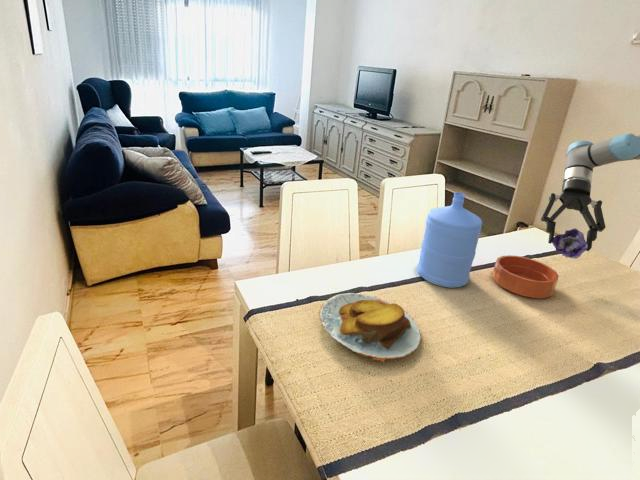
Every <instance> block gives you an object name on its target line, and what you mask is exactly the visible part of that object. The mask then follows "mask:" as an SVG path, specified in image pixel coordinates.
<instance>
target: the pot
mask: <svg viewBox="0 0 640 480" xmlns="http://www.w3.org/2000/svg"><path fill="white" fill-rule="evenodd" d="M491 275H492V279H493V281H494V282H495V283H496V284H497V285H499V286H500V287H501V288H503V289H505V290H507V291H508V292H511V293H513V294H516V295H519V296H523V297H527V298H532V299H545V298H549V297H551V296H553V295H554V292H555V289H556V286H557V284H558V281H559V274H558V272H557V271H556V270H555V269H553V268H552V267H551V266H549V265H547V264H545V263H543V262H541V261H539V260H536V259H533V258H529V257H525V256H520V255H501V256H499V257H497V259H496V260H495V264H494V268H493V271H492V274H491Z"/></svg>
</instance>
